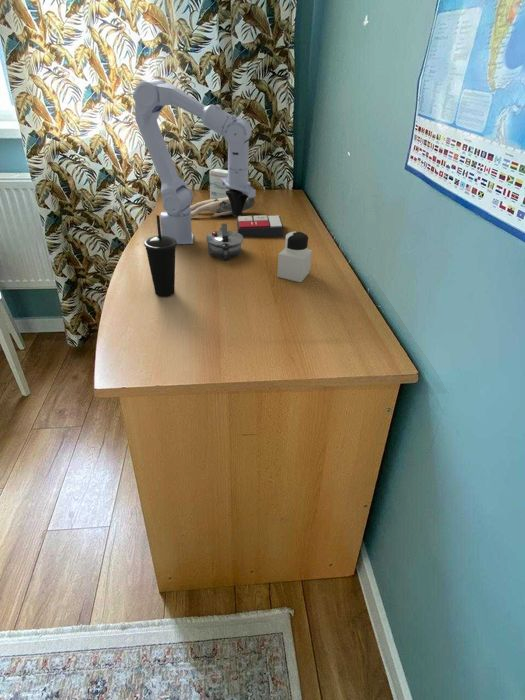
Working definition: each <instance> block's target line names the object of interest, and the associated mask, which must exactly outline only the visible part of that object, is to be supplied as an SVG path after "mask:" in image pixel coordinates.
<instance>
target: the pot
mask: <svg viewBox="0 0 525 700" xmlns="http://www.w3.org/2000/svg"><path fill="white" fill-rule="evenodd" d="M219 231H222V227H220V228H219ZM207 252H208V255H210V256H211V257H213V258H217V259H222V260H223V261H224V262H227V261H229V259H232V258H237V257H239V256H240V255H241V253H242V243H241V244H239V245H237V246H233V247H230V248H229V249H222V248H221V247H218V246H214V245H211V244H209V243H208V242H207Z"/></svg>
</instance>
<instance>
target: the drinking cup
mask: <svg viewBox="0 0 525 700" xmlns="http://www.w3.org/2000/svg"><path fill="white" fill-rule="evenodd" d="M155 216H156V225H157V226H156V227H157V235H153V236H151V237H148V238H146V239H145V240H144V242H143V246H144V247H145V250H146V255H147V261H148V264H149V270H150V273H151V279H152V283H153V284H152V285H153V289H154V293H155V295H156V296H158V297H161V298H168V297H167V296H169V297H171V296H173V295H174V294H175V288H176V287H175V286H176V285H175V283H176V246H177V245H178V244H177V242H176V240H175V239H174V238H172V237H168V236H164V235H161V216H160V215H158V214H157V215H155Z"/></svg>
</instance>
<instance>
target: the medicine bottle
mask: <svg viewBox="0 0 525 700" xmlns="http://www.w3.org/2000/svg"><path fill="white" fill-rule="evenodd" d="M308 244H309V236H308V235H307V234H306V233H304V232H302V231H290V232H288V233H286V234H285V240H284V248H283V249H282V250H281V251H280V252H278V258H277V259H278V260H277V261H278V262H277V277H278V278H281V279H285V280H288V281H292V282H295V283H296V282H297V283H302V282H303V281H304V279H305V278H306V277H307V276H308V275H309V274H310V271H311V262H312V254H313V253H312V252H313V250H312V249H309V248H308Z"/></svg>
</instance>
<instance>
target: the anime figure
mask: <svg viewBox="0 0 525 700" xmlns="http://www.w3.org/2000/svg"><path fill="white" fill-rule="evenodd" d="M220 197H221V196H220ZM255 201H256V200H255V197H252V198H249V197H248V198H247V200H246V202H245V204H244V207H243V211H242V212H244V211H246V210H249V209H251V208H252V207H253V206H254V205H255ZM190 210H191V218H193V217H196V216H198V215H199V214H200V213H201V212H216V213H213V214H212V215H211V216H212V218H217V217H219V216H234V215H233V212H232V207H231V204H230V201H229V198H228V197H226V198H222V197H221V198H219V199H218V198H217V199H210V198H209V199H206V200H203V201H199V202H196V203H194V204H193V205H192V204H191V205H190Z"/></svg>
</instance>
